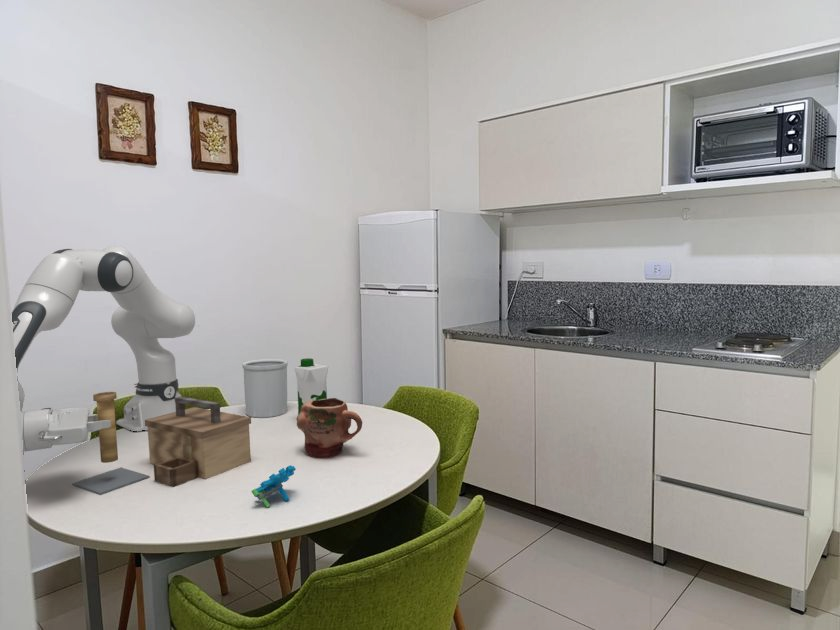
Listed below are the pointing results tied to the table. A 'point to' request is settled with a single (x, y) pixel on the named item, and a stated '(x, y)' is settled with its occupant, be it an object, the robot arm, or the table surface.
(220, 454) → the toolbox
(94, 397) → the tan cylinder
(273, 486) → the gear
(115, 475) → the mat
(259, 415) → the utensil holder
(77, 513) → the table surface
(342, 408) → the pink ceramic mug
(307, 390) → the milk carton
